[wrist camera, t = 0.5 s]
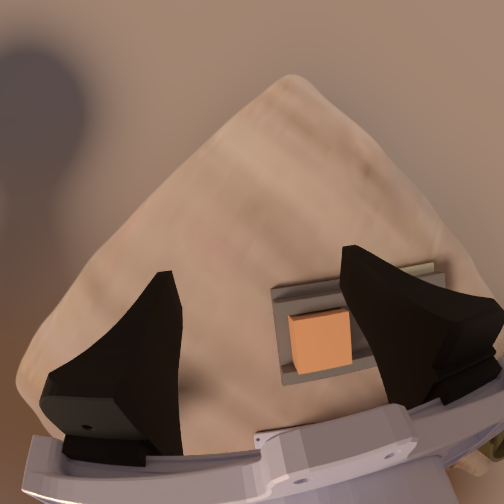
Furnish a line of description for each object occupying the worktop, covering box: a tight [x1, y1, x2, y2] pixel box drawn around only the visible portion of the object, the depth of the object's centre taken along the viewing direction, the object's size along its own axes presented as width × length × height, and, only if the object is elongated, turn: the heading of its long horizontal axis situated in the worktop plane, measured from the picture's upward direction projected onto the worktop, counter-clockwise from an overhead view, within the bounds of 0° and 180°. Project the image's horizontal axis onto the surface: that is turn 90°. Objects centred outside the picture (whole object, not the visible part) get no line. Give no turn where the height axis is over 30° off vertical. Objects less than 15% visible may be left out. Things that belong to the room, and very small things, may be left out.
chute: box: [270, 263, 446, 386], centre depth 34 cm, size 12×22×4 cm, turn 98°
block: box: [288, 307, 352, 375], centre depth 32 cm, size 6×6×4 cm
